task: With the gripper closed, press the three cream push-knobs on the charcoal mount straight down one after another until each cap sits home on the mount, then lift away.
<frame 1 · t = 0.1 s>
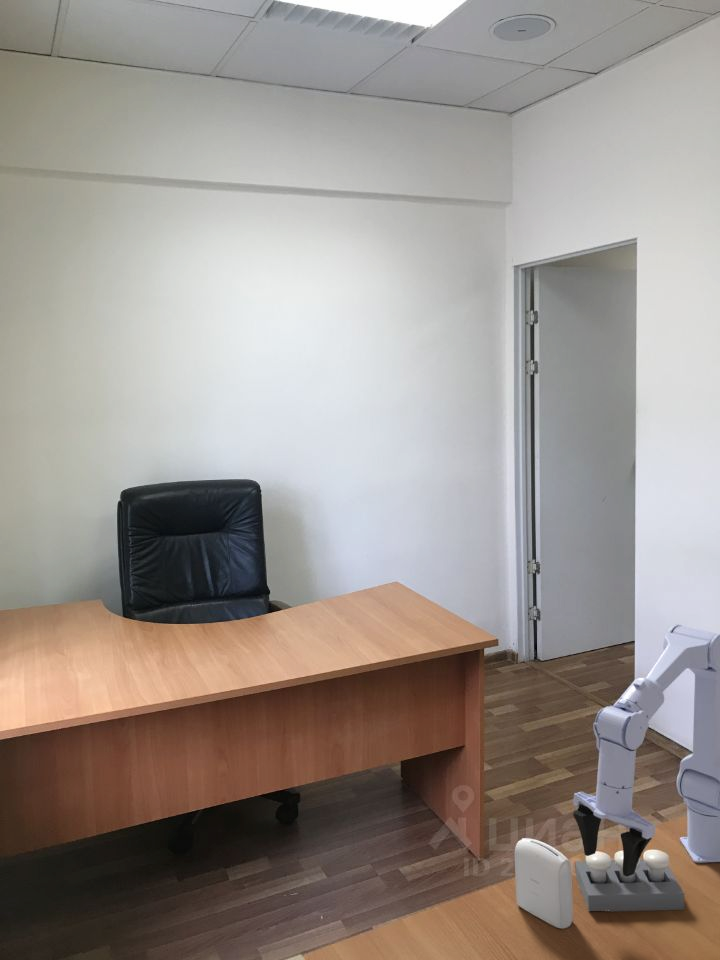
hand: (608, 864, 134), 10 cm above the table, tool pointing down, fingers open, 7 cm apart
knob middle: (627, 867, 142), point 5 cm above the table, slide at 2.5 cm
mount: (627, 892, 143), on the table
knob 1: (598, 868, 142), point 5 cm above the table, slide at 2.5 cm
photo printer: (544, 914, 138), on the table
knob 2: (656, 866, 142), point 5 cm above the table, slide at 2.5 cm
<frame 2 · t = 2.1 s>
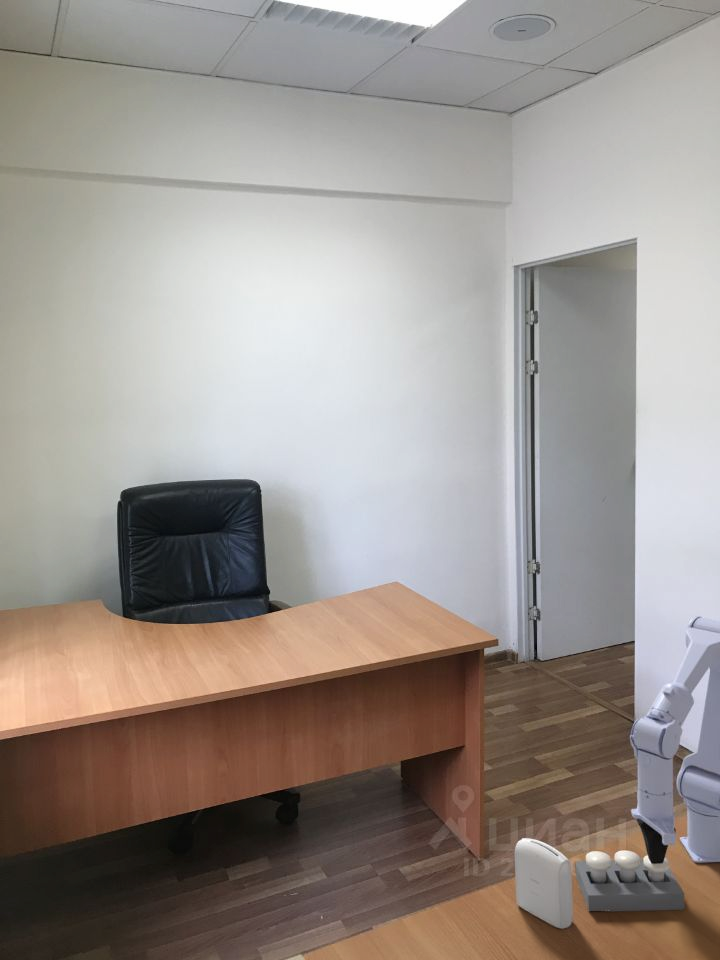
hand: (656, 861, 142), 6 cm above the table, tool pointing down, fingers closed, pressing on knob 2
knob 2: (656, 871, 142), point 4 cm above the table, slide at 1.6 cm, touching gripper
everything else where it was.
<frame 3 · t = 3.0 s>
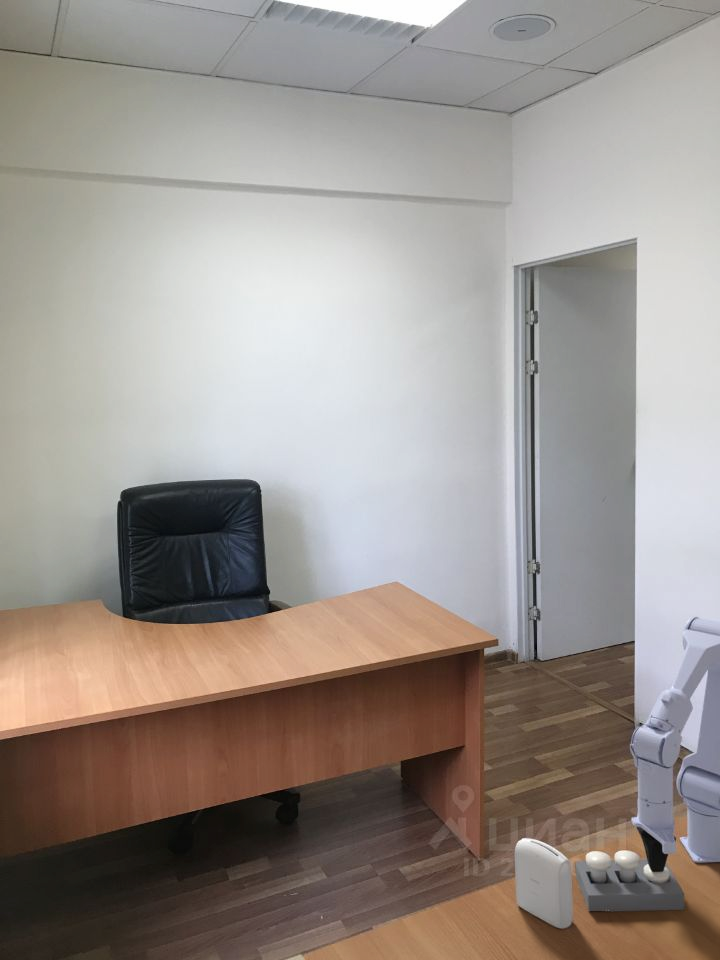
hand: (656, 869, 142), 4 cm above the table, tool pointing down, fingers closed
knob 2: (656, 880, 142), point 2 cm above the table, slide at -0.1 cm
everything else where it was.
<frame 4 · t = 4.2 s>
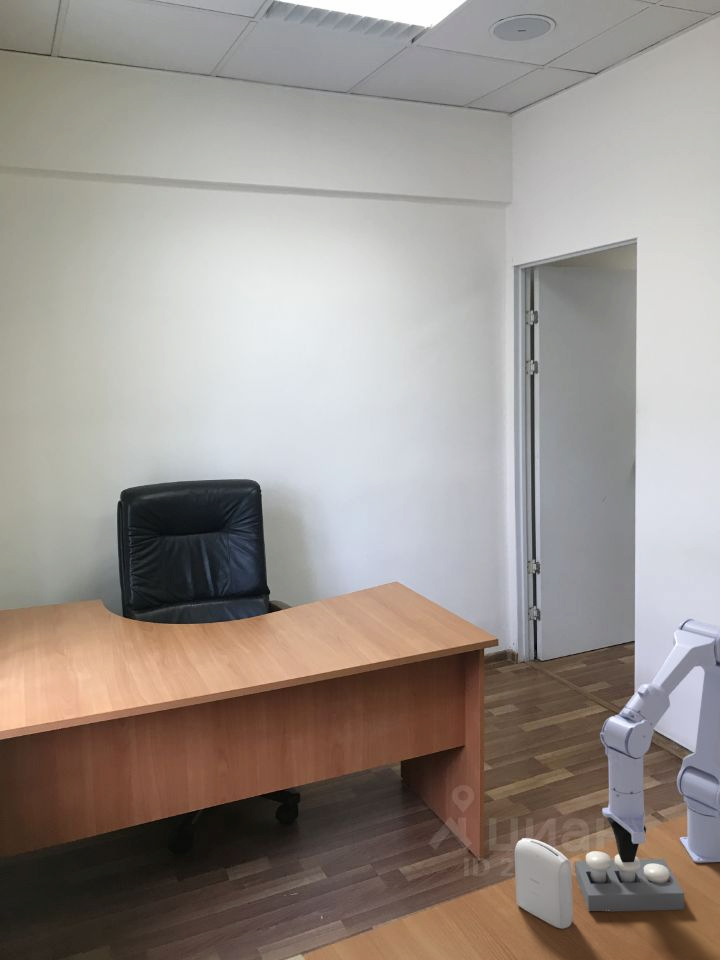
hand: (627, 860, 142), 6 cm above the table, tool pointing down, fingers closed, pressing on knob middle
knob middle: (627, 870, 142), point 4 cm above the table, slide at 2.0 cm, touching gripper
everything else where it was.
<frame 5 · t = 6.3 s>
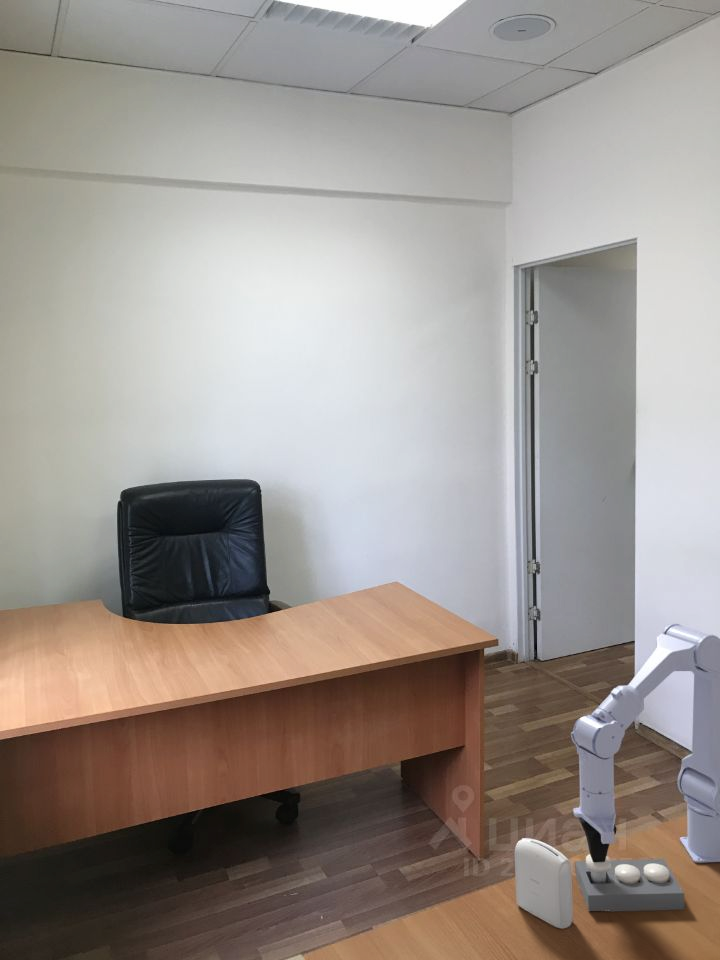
hand: (598, 860, 142), 6 cm above the table, tool pointing down, fingers closed, pressing on knob 1
knob middle: (627, 881, 143), point 2 cm above the table, slide at -0.1 cm, touching mount
knob 1: (598, 870, 143), point 4 cm above the table, slide at 2.2 cm, touching gripper
everything else where it was.
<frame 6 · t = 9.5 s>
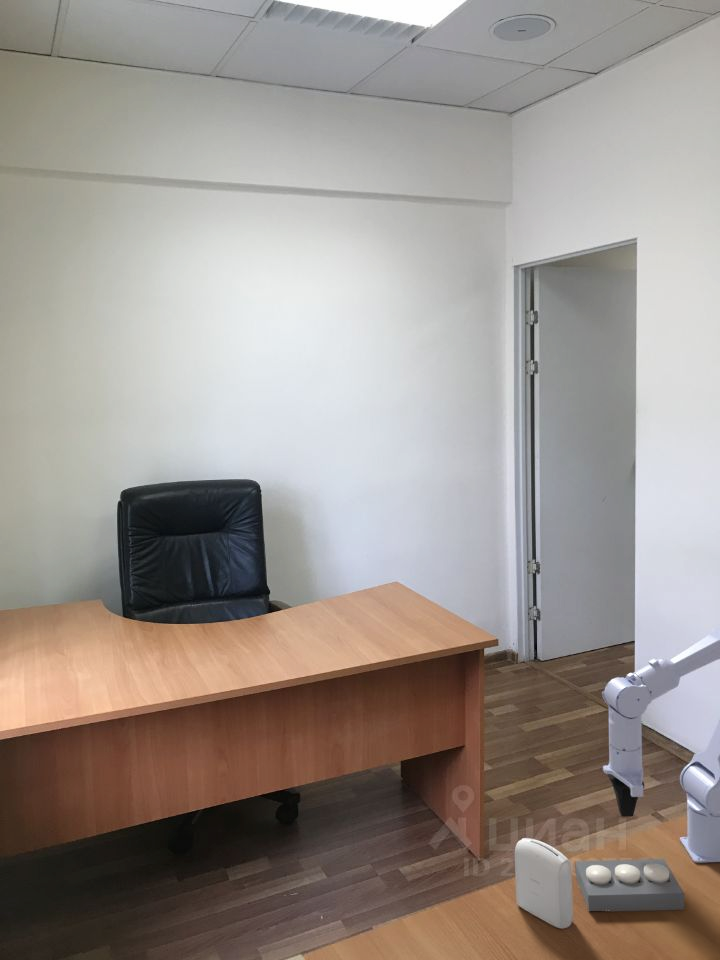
hand: (626, 814, 151), 9 cm above the table, tool pointing down, fingers closed
knob 1: (598, 882, 143), point 2 cm above the table, slide at -0.1 cm, touching mount
everything else where it was.
at the end: knob 2 slide at -0.1 cm; knob middle slide at -0.1 cm; knob 1 slide at -0.1 cm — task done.
